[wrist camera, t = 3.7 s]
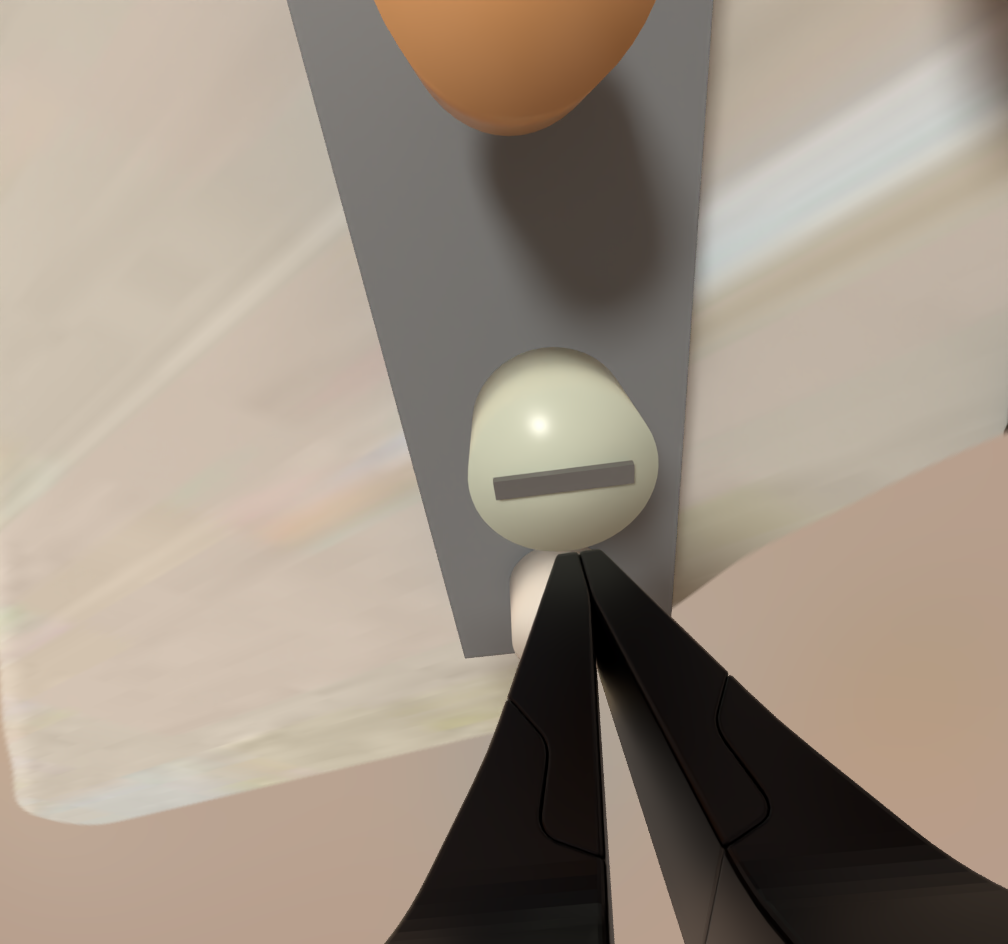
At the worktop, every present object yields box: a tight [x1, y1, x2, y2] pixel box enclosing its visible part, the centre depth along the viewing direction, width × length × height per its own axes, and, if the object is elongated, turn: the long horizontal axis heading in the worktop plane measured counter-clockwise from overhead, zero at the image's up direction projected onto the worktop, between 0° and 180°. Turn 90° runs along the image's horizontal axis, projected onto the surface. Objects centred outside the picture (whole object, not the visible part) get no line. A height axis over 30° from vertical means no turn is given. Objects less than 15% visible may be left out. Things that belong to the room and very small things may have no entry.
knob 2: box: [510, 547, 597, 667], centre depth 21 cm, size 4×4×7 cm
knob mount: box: [287, 0, 713, 658], centre depth 18 cm, size 10×27×4 cm, turn 8°
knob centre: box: [468, 347, 658, 552], centre depth 14 cm, size 4×4×7 cm
